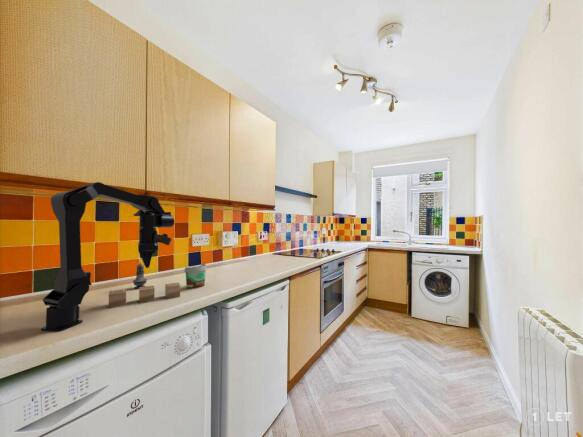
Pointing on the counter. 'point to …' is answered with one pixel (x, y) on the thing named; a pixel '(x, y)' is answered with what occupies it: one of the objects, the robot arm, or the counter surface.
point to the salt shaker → (139, 277)
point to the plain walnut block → (146, 294)
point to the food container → (195, 276)
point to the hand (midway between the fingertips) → (147, 267)
